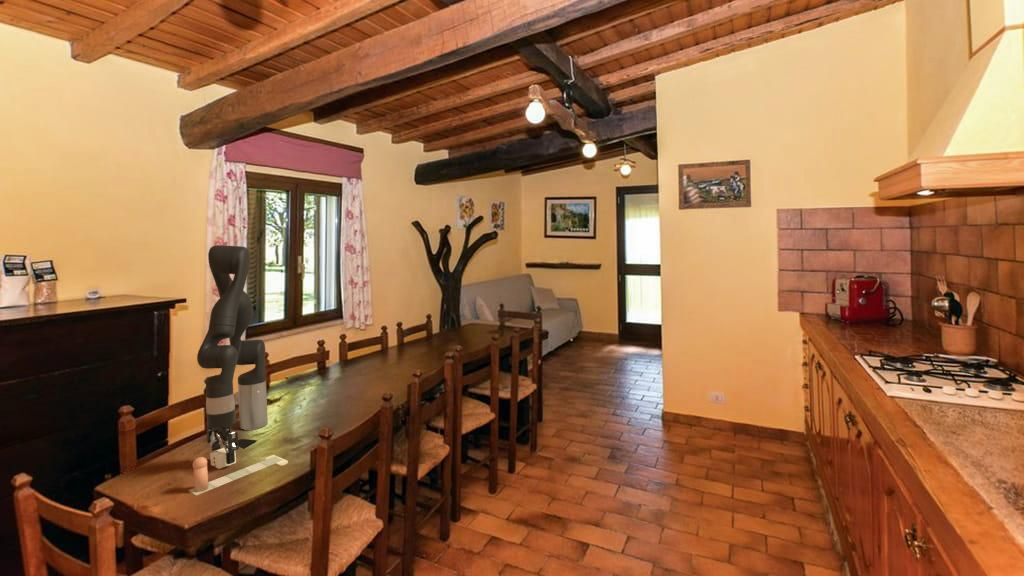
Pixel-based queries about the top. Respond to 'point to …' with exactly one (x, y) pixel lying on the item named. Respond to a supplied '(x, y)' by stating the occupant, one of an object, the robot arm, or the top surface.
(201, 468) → the pawn
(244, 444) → the smartphone
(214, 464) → the die
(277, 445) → the top surface
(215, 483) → the board
